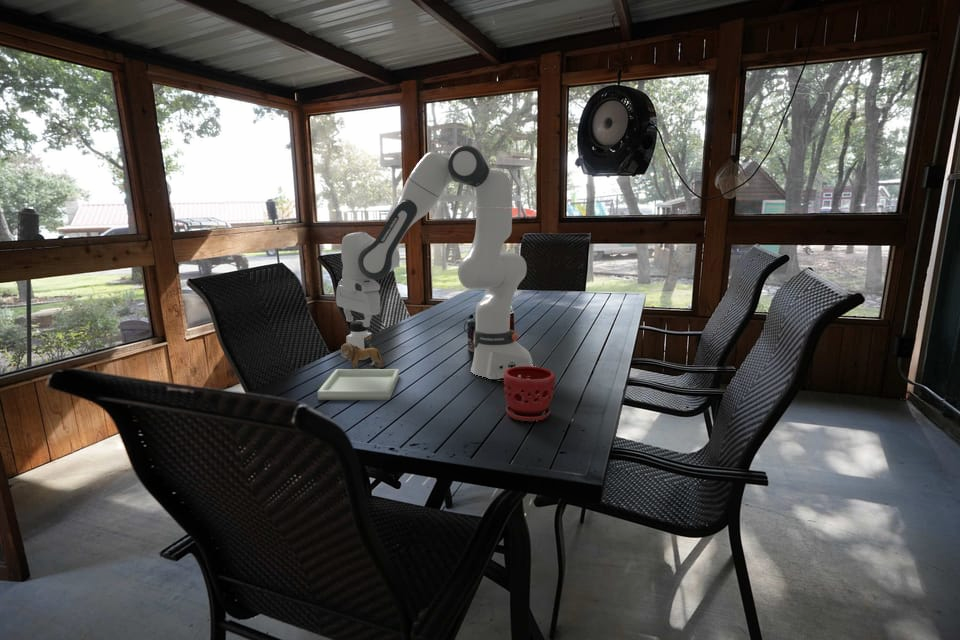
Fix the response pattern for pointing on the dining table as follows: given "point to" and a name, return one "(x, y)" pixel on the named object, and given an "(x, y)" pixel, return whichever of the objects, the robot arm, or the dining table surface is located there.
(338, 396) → the tray
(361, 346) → the medicine bottle
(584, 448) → the dining table surface
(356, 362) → the lion figurine
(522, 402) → the plant pot
